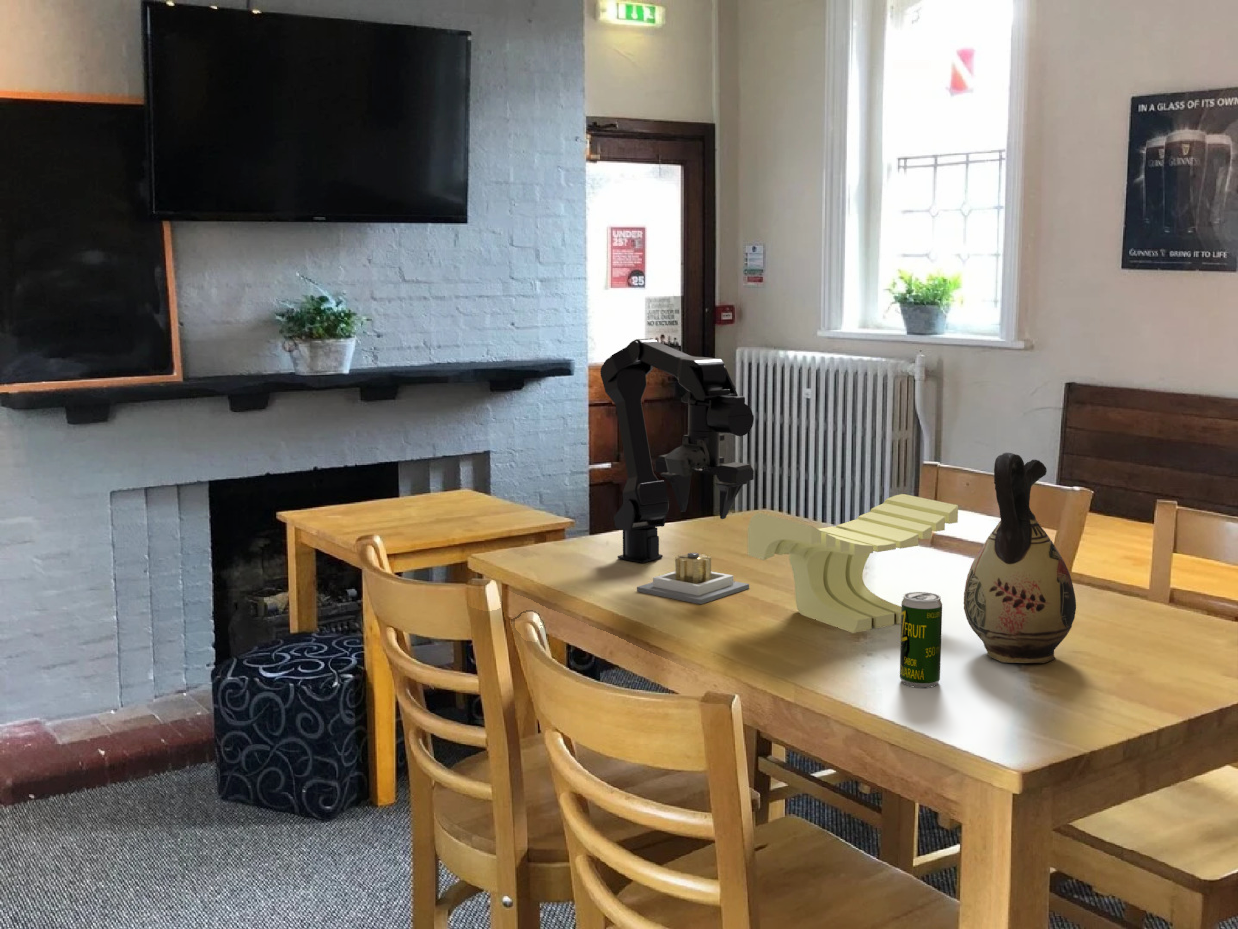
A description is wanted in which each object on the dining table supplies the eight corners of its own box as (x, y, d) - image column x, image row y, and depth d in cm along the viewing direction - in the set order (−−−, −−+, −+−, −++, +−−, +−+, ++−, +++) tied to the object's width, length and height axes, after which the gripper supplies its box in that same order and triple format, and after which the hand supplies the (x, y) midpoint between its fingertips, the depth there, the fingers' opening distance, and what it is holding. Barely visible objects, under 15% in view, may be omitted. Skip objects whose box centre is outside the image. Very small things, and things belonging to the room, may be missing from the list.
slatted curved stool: (887, 592, 226) (889, 491, 223) (954, 613, 212) (958, 505, 210) (747, 617, 211) (747, 509, 208) (809, 641, 197) (811, 525, 195)
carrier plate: (636, 591, 228) (636, 578, 228) (686, 576, 239) (686, 563, 238) (700, 604, 219) (700, 590, 219) (749, 588, 230) (749, 575, 229)
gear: (668, 585, 229) (668, 554, 228) (690, 579, 233) (690, 548, 232) (696, 591, 225) (696, 559, 224) (718, 584, 229) (718, 553, 228)
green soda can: (911, 673, 181) (913, 589, 180) (947, 681, 178) (949, 595, 176) (892, 683, 177) (894, 597, 175) (928, 691, 174) (931, 603, 172)
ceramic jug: (988, 635, 200) (995, 440, 195) (1089, 653, 190) (1098, 449, 186) (938, 661, 187) (944, 454, 182) (1044, 682, 177) (1053, 463, 173)
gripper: (635, 428, 234) (634, 514, 236) (716, 439, 221) (715, 529, 224) (675, 422, 242) (674, 505, 244) (756, 432, 229) (754, 520, 232)
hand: (702, 515), depth 236 cm, fingers open, 9 cm apart
